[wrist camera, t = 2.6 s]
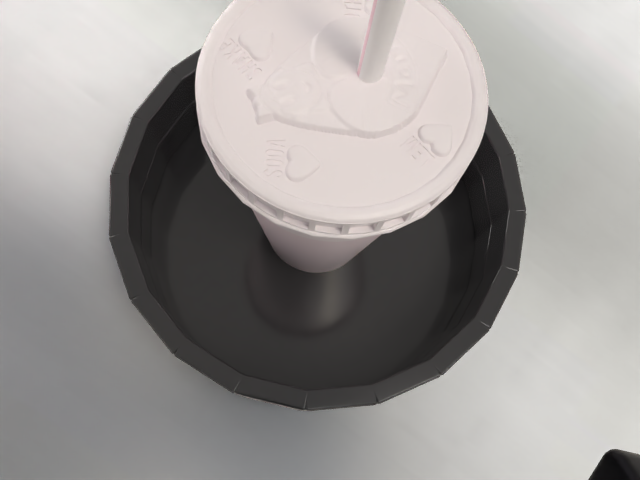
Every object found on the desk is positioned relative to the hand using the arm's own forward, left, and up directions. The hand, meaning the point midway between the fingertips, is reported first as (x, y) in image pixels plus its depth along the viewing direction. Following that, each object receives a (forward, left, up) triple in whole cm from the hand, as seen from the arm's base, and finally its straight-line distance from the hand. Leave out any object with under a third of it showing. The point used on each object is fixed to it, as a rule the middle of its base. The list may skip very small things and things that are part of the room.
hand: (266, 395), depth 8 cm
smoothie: (+5, -4, -13) cm, 14 cm away
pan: (+5, -4, -13) cm, 14 cm away
